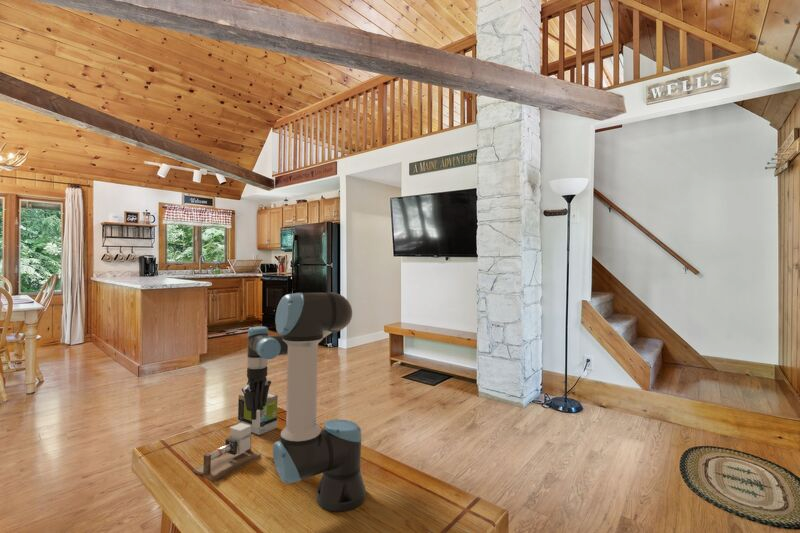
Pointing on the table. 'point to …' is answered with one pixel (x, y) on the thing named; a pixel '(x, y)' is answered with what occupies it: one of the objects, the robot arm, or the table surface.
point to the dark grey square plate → (233, 446)
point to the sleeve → (241, 436)
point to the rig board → (225, 464)
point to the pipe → (222, 451)
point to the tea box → (267, 414)
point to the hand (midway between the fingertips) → (255, 426)
